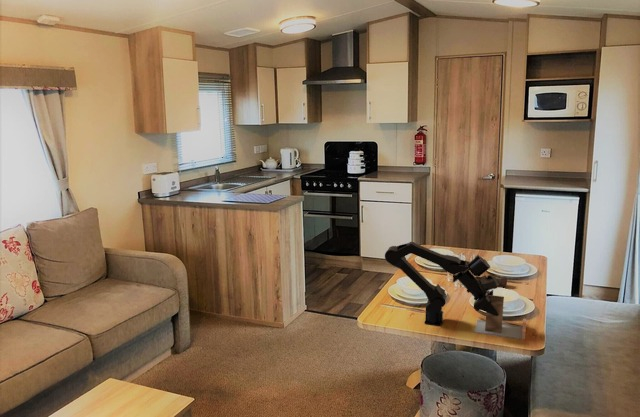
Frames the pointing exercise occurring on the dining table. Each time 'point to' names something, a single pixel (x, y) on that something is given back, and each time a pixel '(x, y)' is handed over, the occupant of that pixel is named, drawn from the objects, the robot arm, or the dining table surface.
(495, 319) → the brown wooden block
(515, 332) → the bay
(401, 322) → the dining table surface
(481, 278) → the bolt
